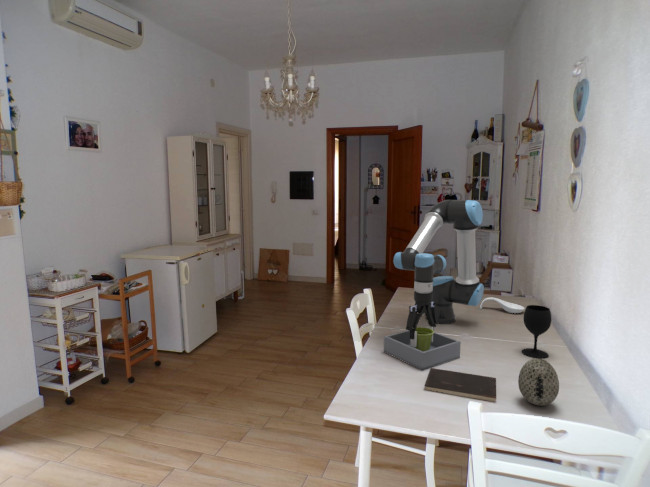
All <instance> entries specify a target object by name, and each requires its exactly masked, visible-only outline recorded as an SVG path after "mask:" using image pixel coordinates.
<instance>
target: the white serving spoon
mask: <svg viewBox="0 0 650 487" xmlns="http://www.w3.org/2000/svg"><path fill="white" fill-rule="evenodd" d="M488 301H494V302H495V303H498V305H499V306H500V307H501V308H502V309H503V310H504V311H505V312H506V313H508V314H513V313H514V314H516V313H517V314H520V313H523V312H524V311H525V309H526V307H525V306H524V305H523V306H522V305H520V304H517V303H512V302H509V301H506V300H503V299H500V298H497V297H492V296H491V297H485V298H484V299H482V300H481V301H480V304H479V310H482V308H483V306H484V303H486V302H488ZM514 314H513V315H514Z"/></svg>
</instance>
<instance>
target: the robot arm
mask: <svg viewBox="0 0 650 487" xmlns="http://www.w3.org/2000/svg"><path fill="white" fill-rule="evenodd" d="M483 215H484V213H483V208H482V205H481V203H480V202H479V201H478V200H471V199H445V200H442V201H440V202H437V203H436V204H434V205H433V206H432V207H431V208H430V209H428V211H427V212H426V213H425V215H424V219H423V222H422V223H421V224H420V226H419V228H418V229H417V231H416V233H415V234H414V236H413V237H412V238H411V240H410V242H409V243H408V244H407V246H406V248H405V249H404V250H403V252H402V251H398V252H396V253H395V254H394V256H393V260H392V262H393V264H394V265H393V266H394V267H395V268H396V269H399V270H404V271H411V272H412V271H414V283H413V284H414V286H413V289H414V291H413V301H414V302H415V303H414V305H409V307H408V316H407V317H408V318H407V321H406V327H405V331H407V330H409V331H410V345H411V346H413V347H416V343H417V332H416V331H415V330H416V328H417V327H418V325H419V322H420V319H421V318H422V317H423V315H425V319H426V321H427V323H428V325H427V326H426V328H429V329H432V330H433V331H434V332H435V328H436V327H437V325H438V324H447V325H448V324H452V323H455V322H456V314H455V311H454V308H453V303H454V304H457V305H463V306H468V307H469V306H470V307H471V306H472V307H476V306H479V305H480V304H481V302H482V300H483V296H484V291H485V288H484V284H483V283H480V278H479V277H478V276H477V263H476V262H477V259H476V258H477V257H476V256H477V255H476V253H477V252H476V251H477V250H476V249H477V248H476V231H477V230H478V229H479V226H480V225H481V224H482V223H483V219H484V216H483ZM445 224H452V226H453V227H452V228H453V230H454V231H456V250H457V252H456V254H457V276H456V277H455V278H454V277H453V276H451V275H441V276H440V275H439V276H436V277H434V275H435V274H439V273H441V272H443V271H444V270H446V267H447V260H446V258H445V257H444V256H443V255H441V254H431V253H427V252H426V253H425V250H426V248H427V247H428V245H429V244H430V242H431V240H432V239H433V237H434V236H435V234H436V232H437V230H438V229H440V228H441V227H442V226H443V225H445ZM431 342H433V335H432V338H431Z"/></svg>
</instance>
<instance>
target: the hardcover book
mask: <svg viewBox="0 0 650 487" xmlns="http://www.w3.org/2000/svg"><path fill="white" fill-rule="evenodd" d="M424 387H425V389H427V390H426V391H430V390H432V391H431V392H436V391H438V392H437V393H441V392H444V393H443V394H447V393H449V394H448V395H453V394H455V395H454V396H458V395H459V396H460V397H464V396H465V397H466V398H470V397H471V398H472V399H477V400H481V401H487V402H493V403H495V402H496V400H497V378H496V377H494V376H493V377H492V376H486V375H480V374H473V373H467V372H461V371H453V370H447V369H440V368H435V367H432V368H429V371H428V375H427V378H426V380H425V383H424Z"/></svg>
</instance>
